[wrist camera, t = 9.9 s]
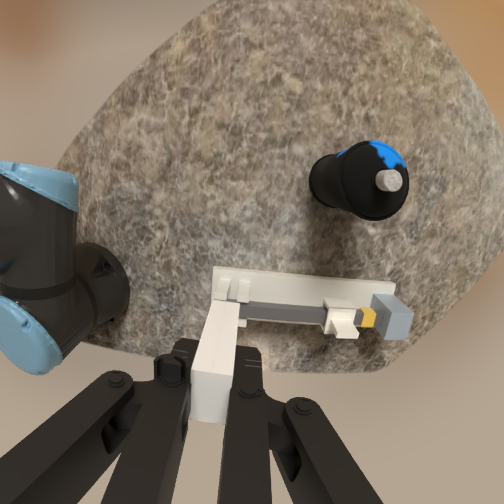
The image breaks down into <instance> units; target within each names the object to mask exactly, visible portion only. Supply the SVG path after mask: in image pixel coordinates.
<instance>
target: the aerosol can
mask: <svg viewBox="0 0 504 504" xmlns="http://www.w3.org/2000/svg"><path fill="white" fill-rule="evenodd" d="M309 184H310V188H311V191H312V193H313V195H314V197H315V198H316V199H317V200H318V201H319V202H320V203H322V204H323V205H325V206H327V207H331V208H340V209H343V210H346V211H349V212H352V213H354V214H355V215H356V216H358V217H360V218H362V219H365V220H369V221H379V220H384V219H387V218H389V217H391V216H392V215H394V214H395V213H397V212H398V210H399V209H400V208H401V207H402V205H403V204H404V202H405V200H406V198H407V195H408V190H409V176H408V171H407V168H406V165H405V163H404V161H403V159H402V158H401V156H400V155H399V154H398V153H397V152H396V151H395V150H394V149H393V148H392V147H390V146H388V145H387V144H384V143H382V142H379V141H373V140H370V141H363V142H359V143H357V144H355V145H353V146H352V147H351V148H349V149H348V150H345V151H342V152H339V153H337V154H330V155H326V156H324V157H322V158H320V159H319V160H318V161H317V162H316V163H315V164H314V165H313V167H312V169H311V172H310V176H309Z"/></svg>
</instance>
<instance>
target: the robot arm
mask: <svg viewBox="0 0 504 504" xmlns="http://www.w3.org/2000/svg"><path fill="white" fill-rule="evenodd" d="M78 189H79V185H78V181H77V179H76V177H75V176H74V175H73V174H71V173H69V172H65V171H60V170H55V169H50V168H45V167H40V166H33V165H28V164H21V163H15V162H9V161H2V160H1V161H0V349H1V350H2V352H3V353H4V354H5V355H6V357H7V358H8V359H9V360H10V361H11V362H12V363H14V364H15V365H16V366H17V367H19V368H20V369H22V370H23V371H25V372H27V373H30V374H33V375H44V374H47V373H48V372H49V371H51V370H52V369H53V368H54V367H55V366H57V365H59V364H61V362H62V360H63V359H64V358H65V357H66V356H67V355H68V354H69V353H70V352H71V351H72V350H73V349H74V348H75V347H76V346H77V345H78V344H79V343H80V342H81V341H82V340H83V339H84V337H85V336H86V335H87V334H88V333H89V332H90V331H91V330H95V329H99V328H102V327H106V326H108V325H111V324H112V323H114V322H115V321H116V320H117V319H118V318H119V317H120V316H121V315H122V314H123V313H124V311H125V310H126V308H127V305H128V302H129V295H130V290H129V282H128V278H127V275H126V273H125V271H124V269H123V267H122V265H121V263H120V262H119V261H118V259H117V258H116V257H115V256H114V255H113V254H112V253H111V252H110V251H109V250H107V249H106V248H104V247H102V246H100V245H97V244H93V243H83V244H80V245H77V246H76V230H77V215H78V213H79V209H78ZM239 308H240V303H234V302H227V301H219V300H213V301H212V304H211V307H210V311H209V314H208V317H207V320H206V323H205V326H204V329H203V333H202V336H201V339H200V341H199V340H192V339H187V338H181V339H180V340H178V341H177V342H175V345H174V347H173V350H172V351H171V353H170V354H163V355H160V356H158V357H156V358H155V360H154V380H151V381H144V382H138V381H133V379H132V378H131V376H130V375H129V374H127V373H126V372H122V371H116V370H115V371H114V370H113V371H108V372H106V373H104V374H102V375H101V376H100V377H99V378H97V379H96V380H95V381H94V382H92V383H91V384H90V385H89V386H88V387H87V388H85V389H84V390H83V391H82V392H80V393H79V394H78V395H77V396H75V397H74V398H73V399H72V400H70V401H69V402H68V403H67V404H66V405H64V406H63V407H62V408H61V409H60V410H58V411H57V412H56V413H55V414H53V415H52V416H51V417H50V418H49V419H47V420H46V421H45V422H44V423H42V424H41V425H40V426H39V427H38V428H36V429H35V430H34V431H33V432H32V433H31V434H29V435H28V436H27V437H25V438H24V439H23V440H22V441H21V442H19V443H18V444H17V445H16V446H14V447H13V448H12V449H11V450H10V451H9V452H7V453H6V454H5V455H3V456H2V457H1V458H0V504H77V503H78V502H79V501H80V500H81V499H82V497H83V496H84V495H85V494H86V493H87V492H88V490H89V489H90V488H91V487H92V486H93V485H94V484H95V482H96V481H97V480H98V479H99V478H100V477H101V475H102V474H103V473H104V472H105V471H106V470H107V468H108V467H109V466H110V465H111V464H112V462H113V461H114V460H115V459H116V458H117V457H118V455H119V454H120V453H121V455H120V457H119V460H118V462H117V464H116V467H115V469H114V472H113V474H112V476H111V479H110V481H109V484H108V486H107V489H106V491H105V494H104V496H103V499H102V501H101V504H171V500H172V496H173V492H174V487H175V483H176V478H177V474H178V469H179V465H180V460H181V456H182V452H183V447H184V443H185V438H186V434H187V430H188V419H189V414H190V420H197V421H202V422H209V423H216V424H224V425H225V432H224V439H223V451H222V460H221V470H220V479H219V480H220V481H219V489H218V500H217V504H272V493H271V475H270V456H269V449H270V450H272V453H273V456H274V458H275V461H276V463H277V466H278V468H279V471H280V473H281V475H282V477H283V480H284V483H285V485H286V487H287V490H288V492H289V494H290V497H291V499H292V501H293V504H383V502H382V501H381V499H380V498H379V496H378V495H377V493H376V492H375V490H374V489H373V487H372V486H371V484H370V483H369V481H368V480H367V479H366V477H365V475H364V474H363V472H362V471H361V470H360V468H359V466H358V465H357V463H356V462H355V460H354V459H353V458H352V456H351V454H350V453H349V451H348V450H347V448H346V447H345V445H344V443H343V442H342V440H341V439H340V437H339V436H338V434H337V433H336V431H335V430H334V428H333V426H332V425H331V423H330V422H329V420H328V419H327V417H326V416H325V414H324V412H323V411H322V409H321V408H320V406H319V405H318V404H317V403H316V402H315V401H313V400H311V399H308V398H304V397H296V398H292V399H290V400H289V401H287V403H283V402H280V401H277V400H274V399H272V398H271V397H269V396H268V395H267V394H266V393H265V390H264V389H263V380H262V362H261V361H262V359H261V353H260V352H259V350H258V349H257V348H255V347H247V346H239V345H236V339H237V329H238V318H239Z"/></svg>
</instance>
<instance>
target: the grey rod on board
mask: <svg viewBox="0 0 504 504" xmlns="http://www.w3.org/2000/svg"><path fill="white" fill-rule="evenodd" d="M395 286H396V284H395V283H393V282H384V281H371V280H359V279H347V278H335V277H324V276H313V275H302V274H291V273H281V272H270V271H260V270H250V269H240V268H230V267H221V266H214V267H213V279H212V296H211V304H212V301H213V300H219V301H227V302H234V303H240V308H239V318H238V327H246V323H247V320H258V321H269V322H281V323H295V324H310V325H320V323H323V324H325V322H326V317H327V312H328V309H327V307H322V302H323V297H327V298H341V299H349V300H350V302H351V303H352V304H353V306H354V307H355V308H356V314H355V318H354V322H353V324H354V326H355V327H375V328H376V330H377V331H378V332H379V334H380V335H381V336H382V338H383V339H384V340H406V338H407V335H408V332H409V329H410V326H411V323H412V319H413V316H414V313H413V312H412V311H411V310H410V309H409V308H408V307H407V306H406V305H405V304H404V303H402V302H401V301H400V300H399V299H398V298H397V297H396V296H395V295H394V291H395Z"/></svg>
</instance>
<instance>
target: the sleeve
mask: <svg viewBox="0 0 504 504" xmlns="http://www.w3.org/2000/svg"><path fill="white" fill-rule="evenodd" d="M322 307H327V309H328V312H327V317H326V322H325V324H323V323H320V326H321V328H322V331H323V333H324V334H335V336H336V338H350V339H358V336H359V332H358V331H357V329H356V327H355V326H354V324H353V322H354V318H355V314H356V308H355V307H354V306H353V304H352V303H351V302H350V300H349V299H341V298H327V297H323V302H322Z"/></svg>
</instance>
